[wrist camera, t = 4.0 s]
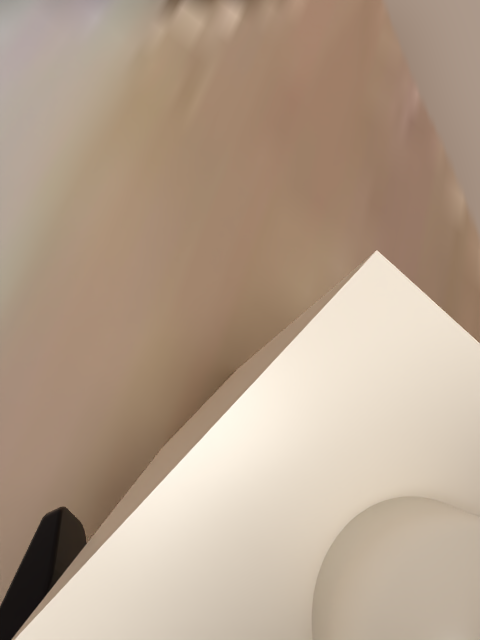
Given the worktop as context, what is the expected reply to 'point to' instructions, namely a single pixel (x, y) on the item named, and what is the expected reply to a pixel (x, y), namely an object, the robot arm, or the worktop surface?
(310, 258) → the worktop surface
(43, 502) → the worktop surface
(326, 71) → the worktop surface
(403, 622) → the tall brick
